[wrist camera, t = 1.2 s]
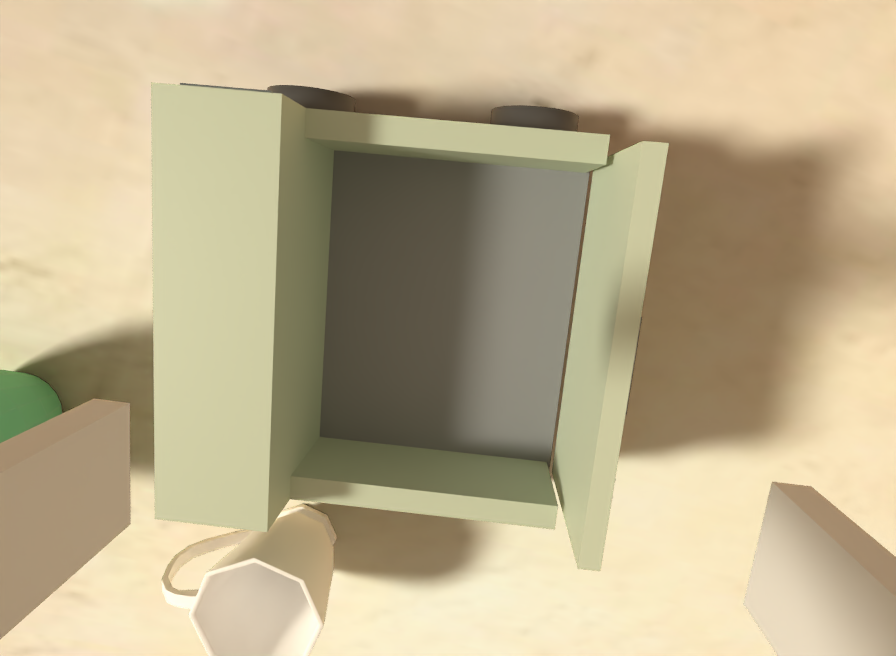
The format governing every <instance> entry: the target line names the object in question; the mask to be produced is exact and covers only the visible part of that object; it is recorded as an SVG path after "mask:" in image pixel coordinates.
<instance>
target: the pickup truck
mask: <svg viewBox="0 0 896 656" xmlns="http://www.w3.org/2000/svg"><path fill="white" fill-rule="evenodd" d="M578 119H579V116H578V115H576V114H575V113H572V112H569V111H565V110H560V109H555V108H547V107H538V106H503V107H497V108H494V109H492V112H491V122H490V124H482V123H470V122H459V121H448V120H436V119H425V118H413V117H402V116H390V115H379V114H368V113H356V112H355V99H354V98H352V97H350V96H348V95H345V94H342V93H338V92H334V91H330V90H325V89H319V88H313V87H305V86H293V85H277V86H270V87H268V91H267V90H255V89H244V88H232V87H221V86H209V85H198V84H186V83H180V85H176V84H164V83H153V82H151V131H152V247H153V363H154V479H155V519H159V520H167V521H176V522H184V523H193V524H201V525H210V526H218V527H227V528H235V529H244V530H252V531H261V532H268V530H269V529H270V527H271V526H272V524H273V523H274V522H275V520H276V519H277V517H278V516H279V514H280V513H281V511H282V510H283V508H284V507H285V505H286V504H287V502H288V501H289V499H294V500H303V501H312V502H320V503H329V504H338V505H346V506H355V507H364V508H373V509H381V510H390V511H399V512H407V513H416V514H425V515H433V516H442V517H451V518H459V519H468V520H477V521H485V522H494V523H503V524H512V525H520V526H529V527H538V528H546V529H555V524H556V517H557V510H558V504H557V501H556V497H555V493H554V489H553V485H552V481H551V477H550V473H549V467H550V460H551V453H552V445H553V438H554V431H555V423H556V416H557V408H558V401H559V394H560V386H561V379H562V372H563V364H564V357H565V350H566V342H567V335H568V327H569V320H570V313H571V305H572V298H573V291H574V283H575V276H576V268H577V261H578V254H579V246H580V239H581V232H582V224H583V217H584V209H585V202H586V195H587V187H588V180H589V173H590V171H591V170H594V169H596V168H599V167H601V166H604V165H606V162H607V154H608V147H609V140H610V135H607V134H596V133H585V132H577V127H578Z"/></svg>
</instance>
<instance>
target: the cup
mask: <svg viewBox="0 0 896 656" xmlns="http://www.w3.org/2000/svg"><path fill="white" fill-rule="evenodd" d="M336 539H337V536H336V534H335V532H334V529H333V527H332V525H331V522H330V520H329V518H328V515H327V514H325V513H322V512H320V511H318V510H316V509H314V508H311V507H309V506H307V505H305V504H301V505H297V506H294V507H291V508H288V509H285V510H282V511H281V513H280V514H279V516H278V517H277V519H276V520H275V522H274V523H273V524H272V526H271V527H270V529H269V530H268V532H261V531H252V530H239V531H235V532H231V533H227V534H223V535H219V536H215V537H212V538H208V539H205V540H202V541H200V542H197V543H194V544H192V545H189V546H188V547H186V548H185V549H183V550H182V551H181V552H179V553H178V554H176V555H175V556H174V558H173V559H172V560H171V562H170V563H169V564H168V566H167V568H166V570H165V573H164V575H163V577H162V591H163V594H164V597H165V599H166V602H167V603H169V604H171V605H173V606H175V607H180V608H187V609H191V610H190V612H189V617H190V619H191V621H192V623H193V625H194V627H195V629H196V631H197V633H198V635H199V637H200V640H201V642H202V644H203V646H204V648H205V650H206V652H207V654H208V656H309V655H310V653H311V651H312V649H313V647H314V645H315V643H316V641H317V638H318V636H319V634H320V632H321V630H322V628H323V626H324V621H325V616H326V610H327V604H328V597H329V591H330V586H331V581H332V576H333V570H334V548H333V545H334V543H335V541H336ZM237 544H238V545H237ZM233 545H237V546H236V547H235V548H234V549H233V550H232V551H231V552H229V553H228V554H227V555H226V556H225V557H223V558H222V559H221V560H220V561H219V562H218V563H216V564H215V565H214V566H213V567H212V568H211V569H210V570H209V571H208V572H206V574H205V577H204V579H203V581H202V584H201V586H200V588H199V590H177V589H175V588H173V587H172V585H171V582H172V580H173V577H174V576H175V574H176V573H177V571H178V570H179V569H180V567H181V566H183V565H184V564H186V563H187V562H188V561H190V560H191V559H193V558H195V557H197V556H200V555H203V554H206V553H208V552H211V551H215V550H218V549H222V548H226V547H229V546H233Z"/></svg>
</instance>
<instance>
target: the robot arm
mask: <svg viewBox="0 0 896 656" xmlns="http://www.w3.org/2000/svg"><path fill="white" fill-rule="evenodd" d="M129 525H130V403H127V402H119V401H111V400H102V399H92V400H89V401H87V402H85V403H83V404H81V405H79V406H77V407H75V408H73V409H71V410H69V411H67V412H64V413H62V414H60V415H58V416H56V417H54V418H52V419H50V420H48V421H46V422H44V423H41V424H39V425H37V426H35V427H33V428H31V429H29V430H27V431H25V432H23V433H21V434H19V435H16V436H14V437H12V438H10V439H8V440H6V441H4V442H2V443H0V639H1V638H2V637H3V636H5V635H6V634H7V633H8V632H9V631H10V630H11V629H13V628H14V627H15V626H16V625H17V624H18V623H19V622H20V621H22V620H23V619H24V618H25V617H26V616H27V615H28V614H29V613H31V612H32V611H33V610H34V609H35V608H36V607H37V606H38V605H40V604H41V603H42V602H43V601H44V600H45V599H46V598H48V597H49V596H50V595H51V594H52V593H53V592H54V591H55V590H57V589H58V588H59V587H60V586H61V585H62V584H63V583H64V582H66V581H67V580H68V579H69V578H70V577H71V576H72V575H73V574H75V573H76V572H77V571H78V570H79V569H80V568H81V567H83V566H84V565H85V564H86V563H87V562H88V561H89V560H90V559H92V558H93V557H94V556H95V555H96V554H97V553H98V552H99V551H101V550H102V549H103V548H104V547H105V546H106V545H107V544H108V543H110V542H111V541H112V540H113V539H114V538H115V537H116V536H118V535H119V534H120V533H121V532H122V531H123V530H124V529H125V528H127V527H128V526H129ZM743 605H744V606H745V608H746V609H747V611H748V612H749V614H750V615H751V617H752V618H753V620H754V621H755V623H756V624H757V626H758V627H759V629H760V630H761V632H762V633H763V635H764V636H765V638H766V639H767V641H768V642H769V644H770V645H771V647H772V648H773V650H774V651H775V653H776V654H777V656H896V557H895V556H894V555H893V554H891V553H890V552H889V551H888V550H887V549H885V548H884V547H883V546H882V545H881V544H879V543H878V542H877V541H876V540H875V539H873V538H872V537H871V536H870V535H869V534H868V533H866V532H865V531H864V530H863V529H862V528H860V527H859V526H858V525H857V524H856V523H854V522H853V521H852V520H851V519H850V518H848V517H847V516H846V515H845V514H844V513H842V512H841V511H840V510H839V509H838V508H836V507H835V506H834V505H833V504H832V503H830V502H829V501H828V500H827V499H826V498H824V497H823V496H822V495H821V494H820V493H818V492H817V491H816V490H815V489H814V488H812V487H811V486H803V485H794V484H786V483H778V482H772V484H771V488H770V492H769V497H768V501H767V505H766V509H765V514H764V518H763V522H762V526H761V531H760V535H759V539H758V543H757V548H756V552H755V556H754V560H753V564H752V569H751V573H750V577H749V581H748V586H747V590H746V594H745V598H744V603H743Z"/></svg>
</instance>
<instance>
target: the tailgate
mask: <svg viewBox="0 0 896 656" xmlns="http://www.w3.org/2000/svg"><path fill="white" fill-rule="evenodd" d="M668 146H669V143H662V142H650V141H641V142H639V143H637V144H635V145H633V146H630V147H628V148H626V149H624V150H622V151H620V152H617V153H615V154H613V155H611V156H609V157H607V162H606V165H604V166H601V167H599V168H596V169H594V170H593V175H592V183H591V190H590V197H589V205H588V212H587V219H586V227H585V234H584V241H583V249H582V256H581V263H580V270H579V278H578V285H577V292H576V300H575V307H574V314H573V322H572V329H571V336H570V344H569V351H568V358H567V366H566V373H565V380H564V387H563V395H562V402H561V409H560V417H559V424H558V431H557V439H556V446H555V453H554V461H553V468H552V474H553V478H554V481H555V485H556V489H557V492H558V496H559V500H560V504H561V507H562V511H563V515H564V519H565V522H566V526H567V530H568V534H569V537H570V541H571V545H572V549H573V552H574V556H575V560H576V563H577V567H578V569H584V570H592V571H600V570H601V564H602V558H603V552H604V545H605V539H606V533H607V527H608V521H609V514H610V508H611V502H612V496H613V489H614V483H615V477H616V471H617V464H618V458H619V452H620V446H621V439H622V433H623V427H624V421H625V415H626V414H627V407H628V401H629V395H630V389H631V382H632V376H633V370H634V364H635V358H636V351H637V345H638V339H639V333H640V326H641V320H642V317H641V315H642V308H643V302H644V296H645V290H646V284H647V277H648V271H649V265H650V259H651V252H652V246H653V240H654V234H655V227H656V221H657V215H658V209H659V202H660V196H661V190H662V184H663V177H664V171H665V165H666V159H667V153H668Z"/></svg>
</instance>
